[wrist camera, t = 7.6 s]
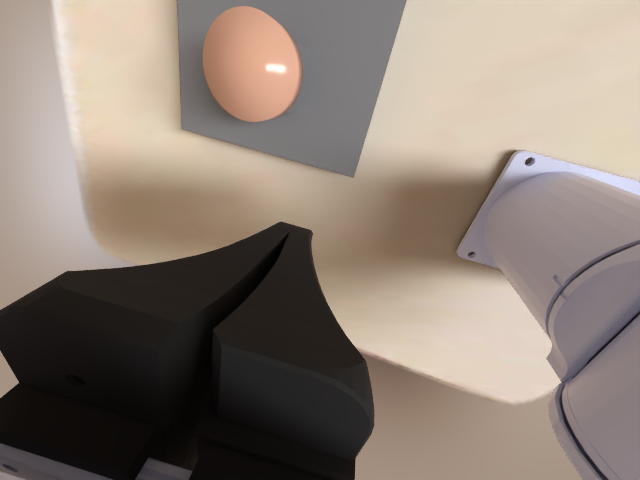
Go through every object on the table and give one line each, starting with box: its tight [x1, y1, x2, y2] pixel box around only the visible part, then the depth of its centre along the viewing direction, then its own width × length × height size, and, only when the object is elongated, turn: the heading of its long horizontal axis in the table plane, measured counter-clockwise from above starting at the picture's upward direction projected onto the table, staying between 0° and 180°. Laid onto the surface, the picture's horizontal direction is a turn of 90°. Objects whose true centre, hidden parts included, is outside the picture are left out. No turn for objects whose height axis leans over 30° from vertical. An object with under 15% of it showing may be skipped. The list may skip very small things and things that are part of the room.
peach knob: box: [203, 6, 303, 122], centre depth 14 cm, size 4×4×6 cm
